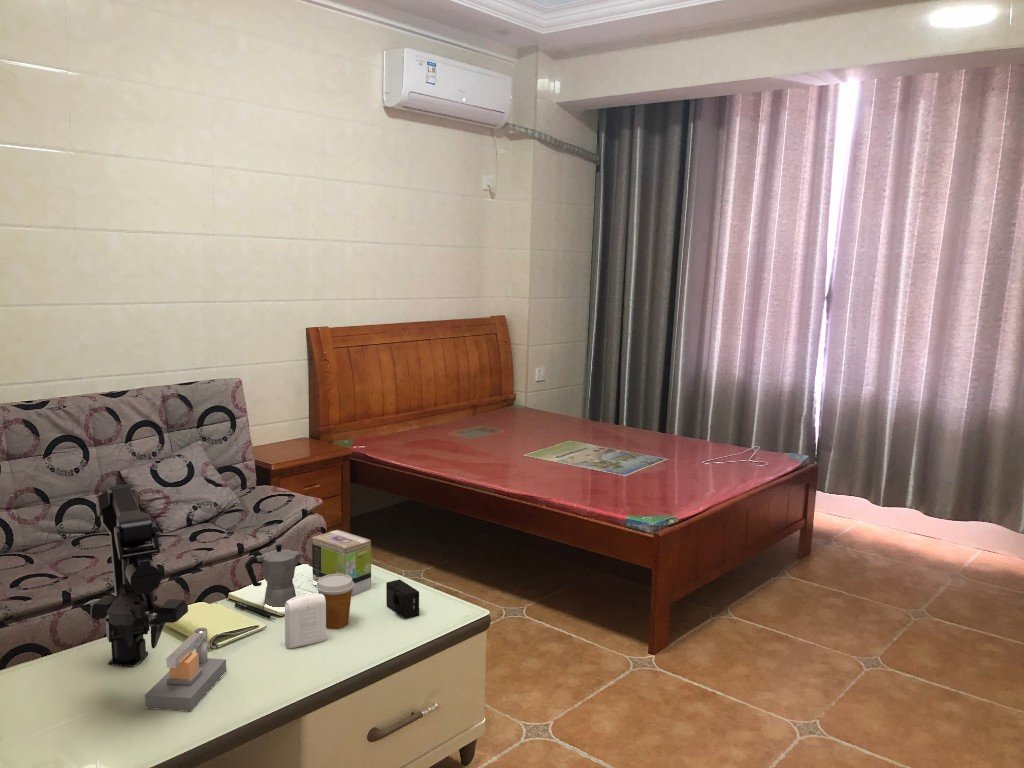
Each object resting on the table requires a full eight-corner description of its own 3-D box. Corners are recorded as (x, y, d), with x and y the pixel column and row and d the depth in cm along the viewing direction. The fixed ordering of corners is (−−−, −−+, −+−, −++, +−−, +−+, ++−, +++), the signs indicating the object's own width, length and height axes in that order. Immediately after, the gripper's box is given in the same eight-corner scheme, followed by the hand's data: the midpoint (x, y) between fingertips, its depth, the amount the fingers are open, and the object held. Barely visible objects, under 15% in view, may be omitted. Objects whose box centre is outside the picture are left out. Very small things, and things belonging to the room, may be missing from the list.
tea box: (372, 588, 240) (372, 539, 238) (345, 599, 233) (344, 548, 230) (338, 575, 250) (338, 527, 247) (311, 585, 242) (310, 536, 240)
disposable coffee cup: (362, 621, 219) (361, 578, 217) (336, 635, 211) (335, 590, 209) (335, 613, 224) (334, 570, 222) (309, 626, 216) (308, 581, 214)
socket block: (145, 708, 176) (143, 671, 175) (184, 668, 193) (183, 635, 191) (191, 711, 175) (189, 674, 174) (226, 671, 192) (225, 637, 191)
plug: (167, 697, 181) (165, 662, 179) (179, 684, 186) (178, 650, 185) (191, 698, 180) (189, 664, 179) (203, 686, 185) (201, 652, 184)
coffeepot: (301, 597, 233) (299, 535, 230) (309, 610, 225) (307, 546, 222) (243, 607, 226) (241, 543, 223) (250, 621, 218) (247, 555, 215)
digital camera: (382, 607, 228) (382, 583, 227) (399, 602, 231) (399, 578, 230) (401, 621, 220) (401, 595, 219) (419, 615, 223) (419, 591, 222)
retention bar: (164, 667, 176) (164, 658, 176) (197, 635, 191) (197, 627, 191) (177, 668, 176) (177, 659, 176) (209, 636, 191) (209, 628, 190)
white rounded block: (322, 634, 211) (321, 587, 209) (329, 640, 208) (328, 593, 206) (282, 644, 206) (281, 596, 204) (288, 651, 202) (287, 602, 200)
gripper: (72, 589, 168) (77, 662, 170) (160, 594, 166) (164, 668, 169) (103, 569, 179) (108, 637, 181) (187, 573, 177) (190, 642, 180)
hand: (141, 646), depth 178 cm, fingers open, 5 cm apart
